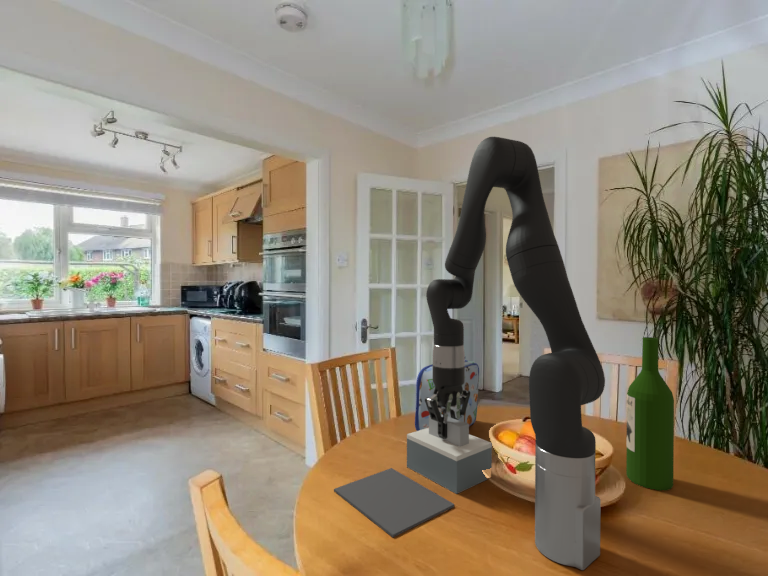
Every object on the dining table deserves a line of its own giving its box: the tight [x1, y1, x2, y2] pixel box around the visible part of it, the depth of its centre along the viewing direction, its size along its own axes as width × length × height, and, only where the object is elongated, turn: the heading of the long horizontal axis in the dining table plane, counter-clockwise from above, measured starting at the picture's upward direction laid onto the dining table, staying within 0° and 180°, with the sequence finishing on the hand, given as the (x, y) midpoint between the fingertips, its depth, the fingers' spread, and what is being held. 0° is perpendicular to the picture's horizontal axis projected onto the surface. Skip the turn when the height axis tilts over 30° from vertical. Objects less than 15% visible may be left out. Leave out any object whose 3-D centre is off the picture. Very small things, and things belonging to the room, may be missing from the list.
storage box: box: [406, 438, 493, 495], centre depth 95 cm, size 16×12×7 cm
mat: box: [333, 467, 455, 538], centre depth 83 cm, size 20×16×1 cm
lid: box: [406, 415, 493, 461], centre depth 95 cm, size 16×12×6 cm
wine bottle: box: [625, 336, 675, 491], centre depth 91 cm, size 9×9×32 cm
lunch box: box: [414, 359, 480, 432], centre depth 123 cm, size 28×10×22 cm, turn 143°
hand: (448, 435), depth 95 cm, fingers closed on lid, 3 cm apart
